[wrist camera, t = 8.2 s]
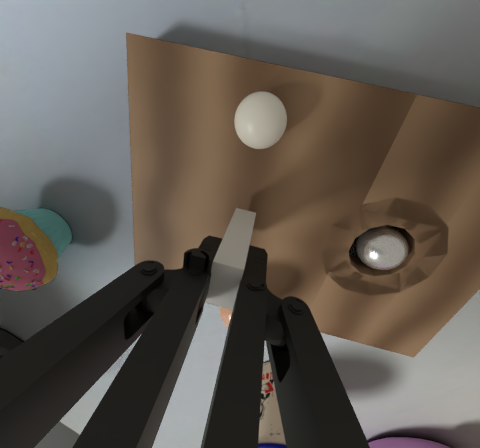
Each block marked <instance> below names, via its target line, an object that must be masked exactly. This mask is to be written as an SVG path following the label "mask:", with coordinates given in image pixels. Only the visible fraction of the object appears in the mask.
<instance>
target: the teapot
mask: <svg viewBox="0 0 480 448" xmlns="http://www.w3.org/2000/svg"><path fill="white" fill-rule="evenodd" d="M368 444H369V447H370V448H450V447H448V446H446V445H443V444H440V443H437V442H434V441H430V440H425V439H419V438H410V437H386V438H384V439H378V440H374V441H372V442H369V443H368Z"/></svg>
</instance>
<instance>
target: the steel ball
mask: <svg viewBox="0 0 480 448" xmlns="http://www.w3.org/2000/svg"><path fill="white" fill-rule="evenodd" d="M356 252H357V255H358V257H359V258H360V260H361V261H362V262H363V263H364V264H366V265H367V266H369V267H371V268H374V269H378V270H389V269H393V268H396V267H398V266H399V265H401V264H402V263H403V262H404V261H405V259H406V257H407V255H408V243H407V241H406V239H405V237H404V236H403V235H402V234H401V233H400V232H399V231H398V230H396V229H394V228H392V227H389V226H380V227H374V228H370V229H368V230H367V231H365V232H364V233H362V234H361V235H359V237H358V238H357V241H356Z"/></svg>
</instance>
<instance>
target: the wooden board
mask: <svg viewBox="0 0 480 448" xmlns="http://www.w3.org/2000/svg"><path fill="white" fill-rule="evenodd" d="M126 40H127V67H128V94H129V120H130V147H131V173H132V200H133V227H134V253H135V265H137V264H138V263H140V262H143V261H147V260H154V261H158V262H160V263H161V264H163V266H164V269H171V270H174V269H181V268H182V267H183V260H184V253H185V252H186V251H187V250H189V249H193V248H198V247H199V246H200V244H201V242H202V241H203V239H204V238H206V237H207V236H209V235H210V236H214V237H218V238H222V239H223V237H224V235H225V232H226V230H227V228H228V226H229V223H230V221H231V219H232V216H233V214H234V212H235V209H236V208H239V209H243V210H247V211H251V212H255V213H256V217H255V221H254V226H253V231H252V236H251V240H250V245H251V246H255V247H259V248H263V249H265V250H266V252H267V254H268V258H267V272H266V285H267V288H268V289H269V291H270V292H271V293H272V294H274V295H275V296H277V297H279V298H281V299H282V300H283V299H284V298H285V297H289V296H293V297H297V298H299V299H301V300H303V301H304V302H305V303H306V304H307V305H308V307H309V308H310V310H311V313H312V315H313V317H314V320H315V322H316V324H317V327H318V329H319V331H320V332H321V333H325V334H329V335H332V336H336V337H340V338H344V339H347V340H351V341H355V342H358V343H362V344H366V345H370V346H373V347H377V348H381V349H384V350H388V351H392V352H396V353H399V354H403V355H407V356H410V357H415V356H416V354H417V353H418V352H419V351H420V350H421V349H422V348H423V347H424V346H425V345H426V344H427V343H428V342H429V341H430V340H431V339H432V338H433V337H434V336H435V335H436V334H437V333H438V332H439V331H440V330H441V328H442V327H443V326H444V325H445V324H446V323H447V322H448V321H449V320H450V319H451V318H452V317H453V316H454V315H455V314H456V313H457V312H458V311H459V310H460V309H461V308H462V307H463V306H464V305H465V303H466V302H467V301H468V300H469V299H470V298H471V297H472V296H473V295H474V294H475V293H476V292H477V291H478V290H479V289H480V108H478V107H474V106H469V105H464V104H460V103H455V102H450V101H446V100H441V99H436V98H431V97H427V96H422V95H417V94H413V93H408V92H403V91H398V90H394V89H389V88H384V87H380V86H375V85H370V84H366V83H361V82H356V81H351V80H347V79H342V78H337V77H333V76H328V75H323V74H318V73H314V72H309V71H304V70H300V69H295V68H290V67H286V66H281V65H276V64H271V63H267V62H262V61H257V60H253V59H248V58H243V57H238V56H234V55H229V54H224V53H220V52H215V51H210V50H206V49H201V48H196V47H191V46H187V45H182V44H177V43H173V42H168V41H163V40H158V39H154V38H149V37H144V36H140V35H135V34H130V33H126ZM260 91H263V92H269V93H271V94H273V95H275V96H276V97H278V98H279V99H280V101H281V102H282V103H283V105H284V107H285V110H286V114H287V125H286V129H285V131H284V134H283V135H282V137H281V138H280V140H279V141H278V142H277V143H275V144H274V145H273V146H271V147H268V148H265V149H254V148H251V147H249V146H247V145H246V144H244V143H243V142H242V141H241V140H240V138H239V137H238V135H237V132H236V129H235V124H234V119H235V113H236V110H237V108H238V106H239V104H240V103H241V101H242V100H243V99H244V98H245V97H247V96H248V95H250V94H252V93H255V92H260ZM385 225H391V226H395V227H399V232H400V233H401V234H402V235H403V236H404V237H405V239H406V241H407V243H408V255H407V257H406V259H405V261H404V262H403V263H402V264H401V265H399V266H398V267H396V268H393V269H389V270H378V269H374V268H371V267H369V266H367V265H366V264H364V263H363V262H362V261H361V260H360V258H359V257H357V256H353V255H351V254H349V252H348V251H349V249H350V247H351V245H352V243H353V242H354V240H355V238H356V237H358V236H359V235H361V234H362V233H364V232H365V231H367V230H368V229H370V228H374V227H380V226H385ZM205 301H206V300H205Z"/></svg>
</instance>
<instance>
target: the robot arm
mask: <svg viewBox="0 0 480 448" xmlns="http://www.w3.org/2000/svg"><path fill="white" fill-rule="evenodd" d="M255 217H256V213H255V212H251V211H247V210H243V209H239V208H236V209H235V212H234V214H233V216H232V219H231V221H230V223H229V226H228V228H227V230H226V232H225V235H224V237H223V239H222V238H218V237H214V236H210V235H209V236H207V237H206V238H204V239H203V241H202V242H201V244H200V246H199V247H198V248H193V249H189V250H187V251H186V252H185V253H184V260H183V267H182V268H181V269H174V270H171V269H164V266H163V264H161V263H160V262H158V261H154V260H147V261H143V262H140V263H138V264H137V265H135V266H134V267H132V268H131V269H129V270H128V271H127V272H125V273H124V274H122V275H121V276H119V277H118V278H116V279H115V280H113V281H112V282H111V283H109V284H108V285H106V286H105V287H103V288H102V289H100V290H99V291H97V292H96V293H95V294H93V295H92V296H90V297H89V298H87V299H86V300H84V301H83V302H81V303H80V304H79V305H77V306H76V307H74V308H73V309H71V310H70V311H68V312H67V313H65V314H64V315H63V316H61V317H60V318H58V319H57V320H55V321H54V322H52V323H51V324H49V325H48V326H47V327H45V328H44V329H42V330H41V331H39V332H38V333H36V334H35V335H33V336H32V337H31V338H29V339H28V340H26V341H25V342H21V341H20V340H19V339H17V338H16V337H14V336H12V335H11V334H9V333H7V332H5V331H3V330H1V329H0V448H34V447H35V446H36V445H37V444H38V443H39V442H40V441H41V440H42V439H43V438H44V436H45V435H46V434H47V433H48V432H49V431H50V430H51V429H52V428H53V427H54V426H55V425H56V424H57V423H58V422H59V421H60V420H61V419H62V417H63V416H64V415H65V414H66V413H67V412H68V411H69V410H70V409H71V408H72V407H73V406H74V405H75V404H76V403H77V402H78V401H79V399H80V398H81V397H82V396H83V395H84V394H85V393H86V392H87V391H88V390H89V389H90V388H91V387H92V386H93V385H94V384H95V383H96V381H97V380H98V379H99V378H100V377H101V376H102V375H103V374H104V373H105V372H106V371H107V370H108V369H109V368H110V367H111V366H112V365H113V364H114V362H115V361H116V360H117V359H118V358H119V357H120V356H121V355H122V354H123V353H124V352H125V351H126V350H127V349H128V348H129V347H130V346H131V344H132V343H133V342H134V341H135V340H136V339H137V338H138V337H139V336H140V335H141V334H142V335H141V336H140V338H139V339H138V341H137V343H136V344H135V346H134V348H133V349H132V351H131V353H130V354H129V356H128V357H127V359H126V361H125V362H124V364H123V366H122V367H121V369H120V371H119V372H118V374H117V375H116V377H115V379H114V380H113V382H112V384H111V385H110V387H109V389H108V390H107V392H106V394H105V395H104V397H103V398H102V400H101V402H100V403H99V405H98V407H97V408H96V410H95V412H94V413H93V415H92V416H91V418H90V420H89V421H88V423H87V425H86V426H85V428H84V430H83V431H82V433H81V434H80V436H79V438H78V439H77V441H76V443H75V445H74V446H73V448H152V446H153V443H154V440H155V438H156V435H157V432H158V430H159V427H160V424H161V422H162V419H163V416H164V414H165V411H166V408H167V405H168V403H169V400H170V397H171V395H172V392H173V389H174V387H175V384H176V381H177V379H178V376H179V373H180V371H181V368H182V365H183V363H184V360H185V357H186V355H187V352H188V349H189V347H190V344H191V341H192V339H193V336H194V333H195V331H196V328H197V325H198V322H199V320H200V317H201V314H202V312H203V307H204V303H208V304H212V305H216V306H219V307H223V308H227V309H231V310H233V312H232V315H231V319H230V323H229V326H228V332H227V336H226V341H225V345H224V349H223V354H222V358H221V362H220V367H219V371H218V375H217V380H216V384H215V388H214V392H213V397H212V401H211V405H210V410H209V414H208V418H207V423H206V427H205V431H204V436H203V440H202V444H201V448H258V439H259V423H260V406H261V390H262V373H263V357H264V340H266V344H267V349H268V354H269V360H270V365H271V370H272V375H273V380H274V385H275V390H276V396H277V401H278V406H279V411H280V416H281V421H282V426H283V432H284V437H285V442H286V447H287V448H370V447H369V444H368V442H367V440H366V437H365V435H364V433H363V430H362V428H361V426H360V423H359V421H358V419H357V417H356V414H355V412H354V410H353V407H352V405H351V403H350V400H349V398H348V396H347V393H346V391H345V389H344V387H343V384H342V382H341V380H340V377H339V375H338V373H337V370H336V368H335V366H334V363H333V361H332V359H331V357H330V354H329V352H328V350H327V347H326V345H325V343H324V340H323V338H322V336H321V333H320V331H319V329H318V327H317V324H316V322H315V320H314V317H313V315H312V313H311V310H310V308H309V307H308V305H307V304H306V303H305V302H304V301H303V300H301V299H299V298H297V297H293V296H289V297H285V298H284V299H283V300H282V299H281V298H279V297H277V296H275V295H274V294H272V293H271V292H270V291H269V289H268V288H267V285H266V272H267V258H268V254H267V252H266V250H265V249H263V248H259V247H255V246H251V245H250V240H251V236H252V231H253V226H254V221H255ZM205 300H206V302H205Z"/></svg>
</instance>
